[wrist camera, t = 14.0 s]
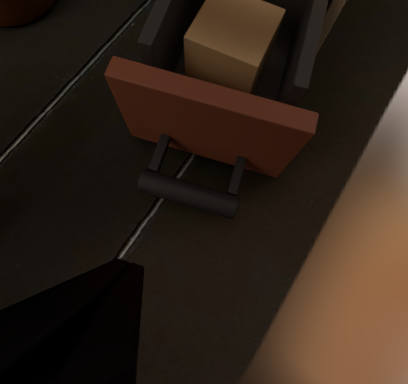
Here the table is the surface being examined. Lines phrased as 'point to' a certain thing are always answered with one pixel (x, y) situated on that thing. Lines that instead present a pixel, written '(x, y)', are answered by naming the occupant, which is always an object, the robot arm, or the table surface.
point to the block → (232, 42)
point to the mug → (22, 11)
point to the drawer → (217, 103)
